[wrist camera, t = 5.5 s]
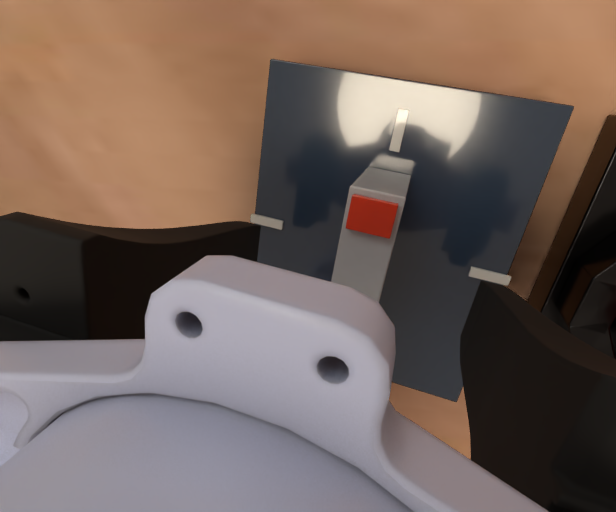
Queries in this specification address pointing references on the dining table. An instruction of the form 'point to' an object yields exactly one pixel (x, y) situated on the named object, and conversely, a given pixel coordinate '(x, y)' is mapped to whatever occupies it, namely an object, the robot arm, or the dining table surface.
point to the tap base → (420, 198)
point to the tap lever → (370, 230)
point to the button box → (586, 255)
